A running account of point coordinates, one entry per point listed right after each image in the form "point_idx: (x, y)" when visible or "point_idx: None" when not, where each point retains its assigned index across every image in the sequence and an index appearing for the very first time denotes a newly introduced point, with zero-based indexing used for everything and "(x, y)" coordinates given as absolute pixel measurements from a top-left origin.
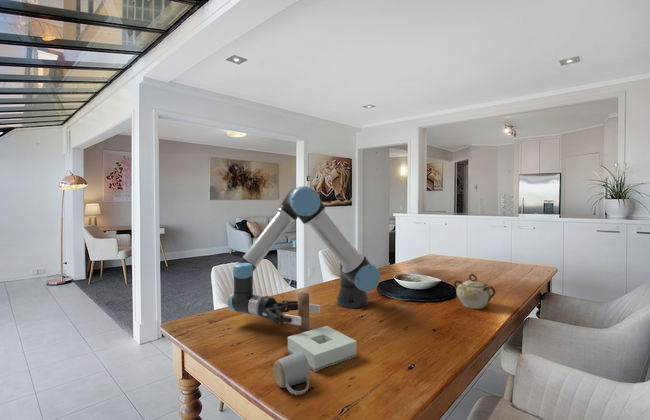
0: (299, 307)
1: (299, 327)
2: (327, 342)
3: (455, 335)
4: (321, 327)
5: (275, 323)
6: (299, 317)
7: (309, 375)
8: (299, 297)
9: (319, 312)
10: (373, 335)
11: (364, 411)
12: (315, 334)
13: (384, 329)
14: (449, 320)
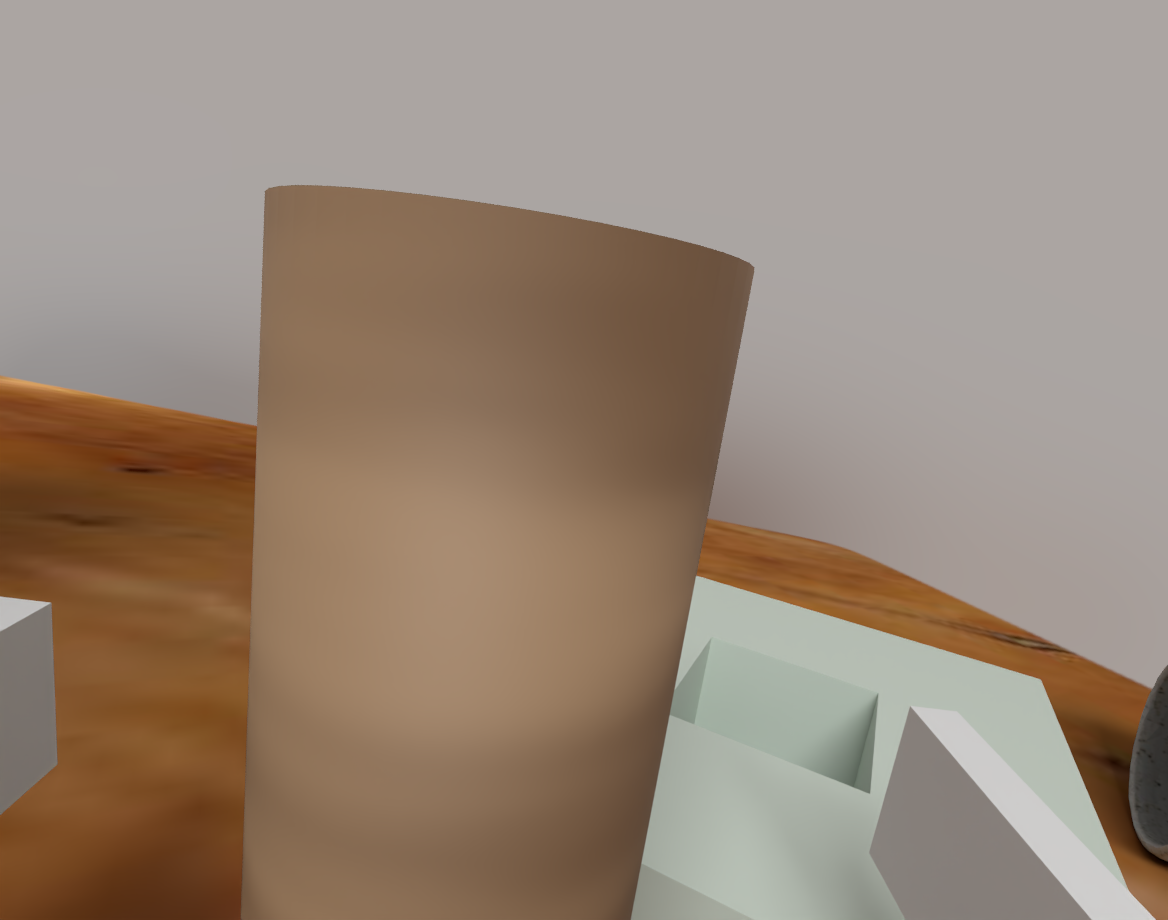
0: (660, 741)
1: None
2: (793, 656)
3: (224, 451)
4: None
5: None
6: (965, 720)
7: (1146, 720)
8: (737, 356)
9: (50, 753)
10: (217, 615)
11: (966, 608)
12: (728, 772)
13: (84, 578)
14: (2, 435)
